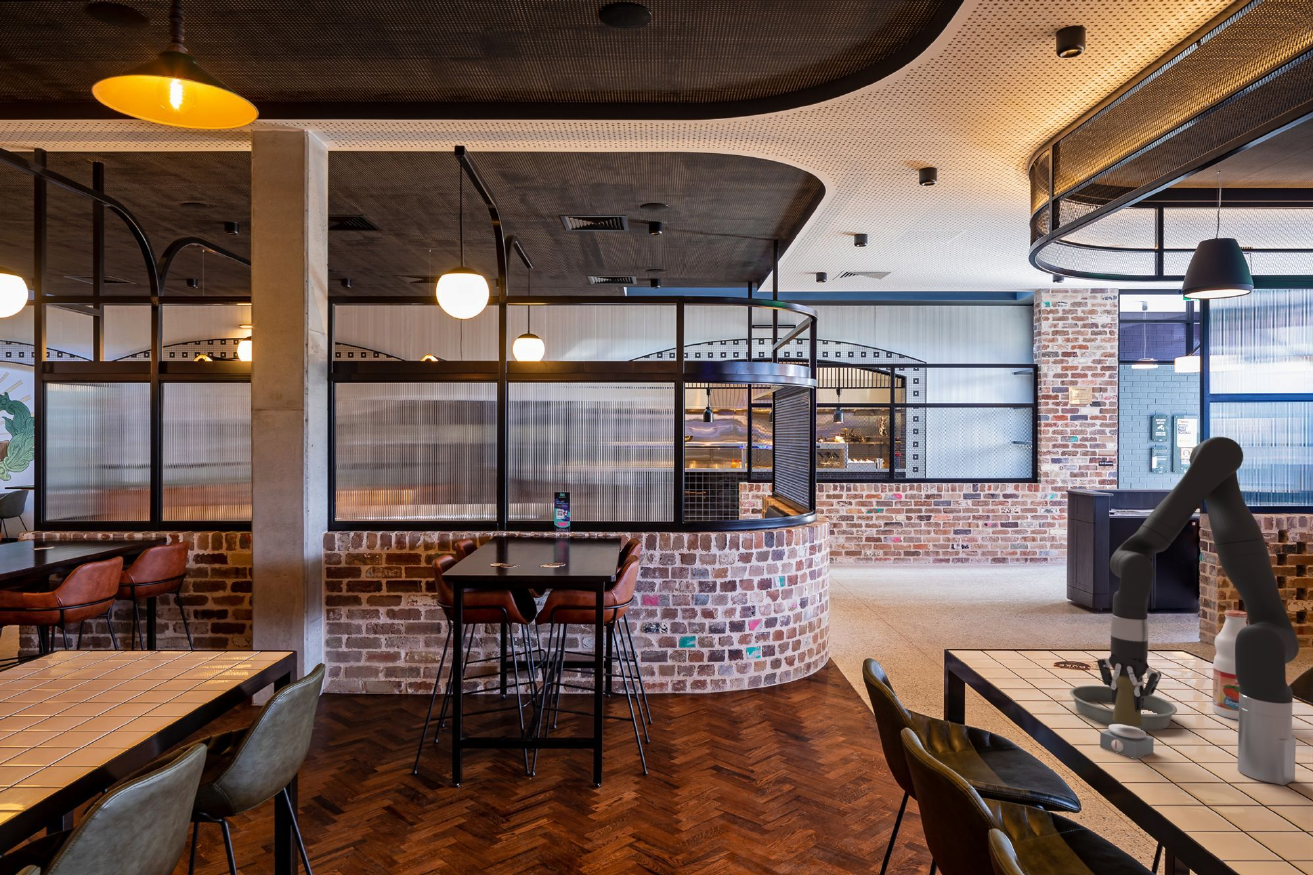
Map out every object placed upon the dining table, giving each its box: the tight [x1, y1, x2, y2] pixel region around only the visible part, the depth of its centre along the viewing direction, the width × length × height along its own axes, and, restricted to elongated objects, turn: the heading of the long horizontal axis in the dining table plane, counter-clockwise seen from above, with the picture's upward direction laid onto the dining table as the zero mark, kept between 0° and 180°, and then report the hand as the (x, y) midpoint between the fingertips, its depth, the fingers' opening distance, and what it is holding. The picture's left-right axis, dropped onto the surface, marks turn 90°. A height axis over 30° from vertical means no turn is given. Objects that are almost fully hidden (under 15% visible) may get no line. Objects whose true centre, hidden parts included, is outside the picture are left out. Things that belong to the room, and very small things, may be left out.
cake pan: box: [1069, 685, 1178, 731], centre depth 205 cm, size 25×25×4 cm
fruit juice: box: [1212, 609, 1248, 721], centre depth 207 cm, size 9×9×28 cm
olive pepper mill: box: [1113, 675, 1142, 727], centre depth 181 cm, size 6×6×11 cm
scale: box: [1099, 724, 1155, 760], centre depth 181 cm, size 8×8×5 cm
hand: (1127, 707), depth 181 cm, fingers closed on olive pepper mill, 4 cm apart
